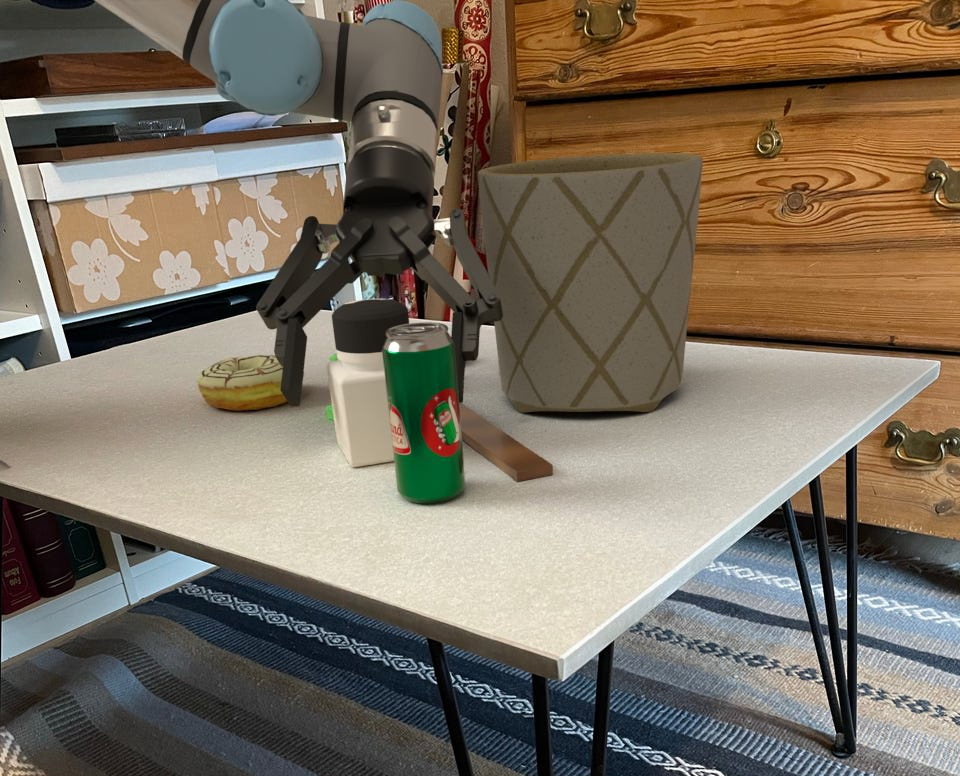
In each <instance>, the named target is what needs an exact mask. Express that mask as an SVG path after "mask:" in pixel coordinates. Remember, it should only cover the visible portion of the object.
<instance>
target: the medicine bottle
mask: <svg viewBox="0 0 960 776" xmlns="http://www.w3.org/2000/svg"><path fill="white" fill-rule="evenodd" d="M331 321H332V329H333V337H334V345H335V354H336V353H337V358H338V359H339V360H335V361H330V360H329V361H328V362H327V363H326V370H327V378H328V385H329V392H330V399H331V400H330V401H331V403H332V408H333V415H334V421H333V422H334V427H335V428H334V429H335V430H334V431H335V437H336V443H337V444H338V446H339V447H340V450H341V452H342V453H343V455H344V457H345V458H346V460H347V462H348V464H349V466H350V467H352V468H358V467H359V468H360V467H366V466H372V465H379V464H385V463H391V462H394V454H393V446H392V437H391V428H390V419H389V410H388V401H387V392H386V383H385V374H384V365H383V356H382V346H383V344H384V342H385V340H386V337H387V336H386V334H385V333H386V330H388V329H390V328H392V327H395V326H399V325H404V324H410V317H409V308H408V307H407V306H406V305H405V303H402V302H399V301H397V300H395V299H391V298H365V299H360V300H358V299H357V300H353V301H349V302H346V303H343V304H341V305H340V306H339V307H337V308H336V309H334V311H333V312H332V314H331Z"/></svg>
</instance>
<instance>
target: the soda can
mask: <svg viewBox="0 0 960 776" xmlns="http://www.w3.org/2000/svg"><path fill="white" fill-rule="evenodd" d="M385 334H386V336H387V337H386V340H385V342H384V344H383V346H382V356H383V365H384V374H385V383H386V392H387V401H388V410H389V419H390V428H391V437H392V446H393V454H394V461H393V463H394V472H395V480H396V489H397V491H398V492H397V493H399V494H400V495H401V497H402V498H404V499H405V500H407V501H409V502H412V503H415V504H423V505H424V504H425V505H429V504H439V503H444V502H448V501H450V500H453V499H455V498H457V497H458V496H459V495H460V494H461V492H463V490H464V488H465V486H466V476H465V475H466V474H465V462H464V448H463V440H462V434H461V421H460V408H459V395H458V382H457V368H456V355H455V342H454V341H453V339H452V338H451V335H450V333H449V326H448V325H446V324H445V323H440V322H428V321H425V322H412V323H410V322H409V324H404V325H399V326H395V327H392V328H390V329H388V330H386V333H385Z"/></svg>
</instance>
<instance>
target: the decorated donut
mask: <svg viewBox="0 0 960 776" xmlns="http://www.w3.org/2000/svg"><path fill="white" fill-rule="evenodd" d="M282 371H283V366H281V365H280V363H279V362H278V360H277V358H276V356H275V354H268V355H266V354H265V355H264V354H258V355H251V356H238V357H230V358H226V359H223V360H220V361H217V362H215V363H213V364H211V365H210V366H208V367H207V368H205V369H204V370H202V371H201V372H200V373H199V374H198V376H197V380H196V382H197V385H198V391H199V392H200V393H201V397H202V398H203V399H204V400H205V402H206V403H207V404H209V405H210V406H212V407H214V408H216V409H223V410H227V411H235V412H242V411H257V410H261V409H267V408H274V407H278V406H280V405H283V404H286V403H288V401H287V400H286V398H285V397H284V395H283V393H282V392H281V390H280V389H281V380H282ZM304 376H305V372H304V373H303V378H304Z"/></svg>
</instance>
